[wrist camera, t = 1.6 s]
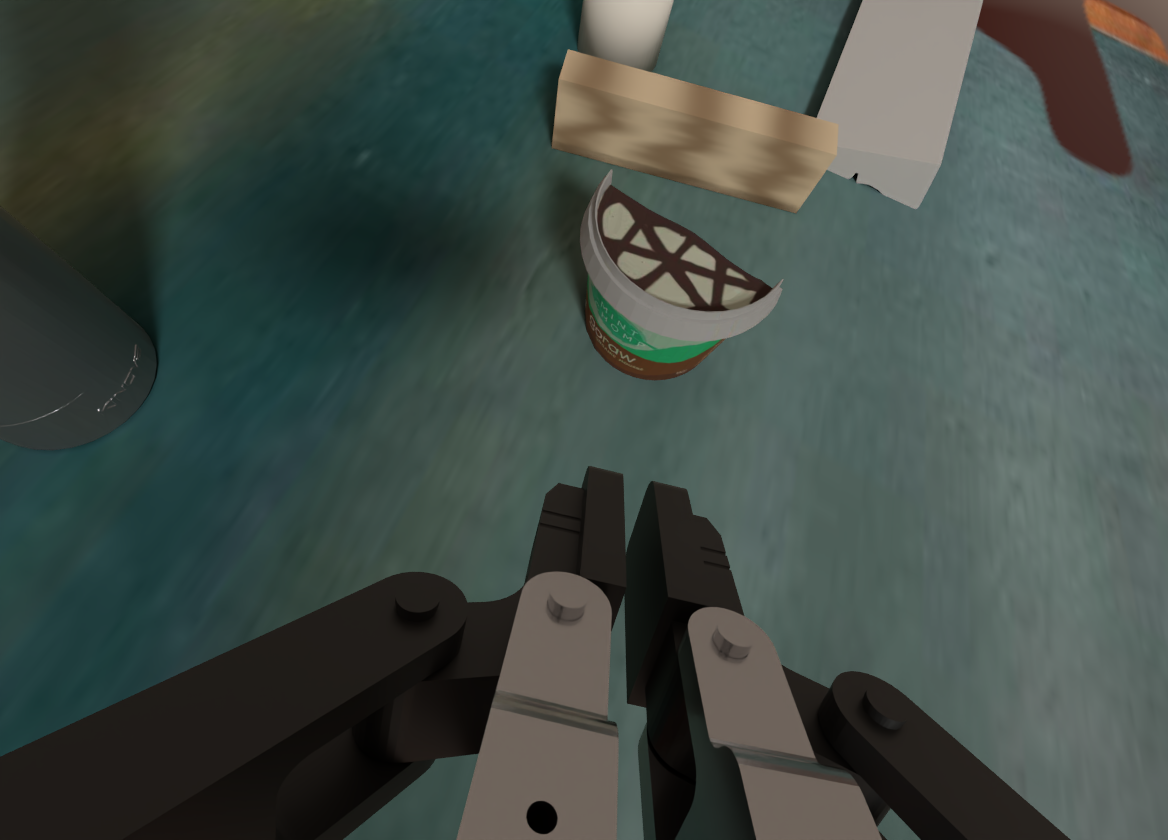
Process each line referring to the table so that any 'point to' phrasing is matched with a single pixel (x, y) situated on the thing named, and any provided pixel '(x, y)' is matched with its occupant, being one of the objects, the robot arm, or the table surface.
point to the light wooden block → (690, 133)
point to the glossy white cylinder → (624, 30)
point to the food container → (660, 289)
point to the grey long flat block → (899, 92)
